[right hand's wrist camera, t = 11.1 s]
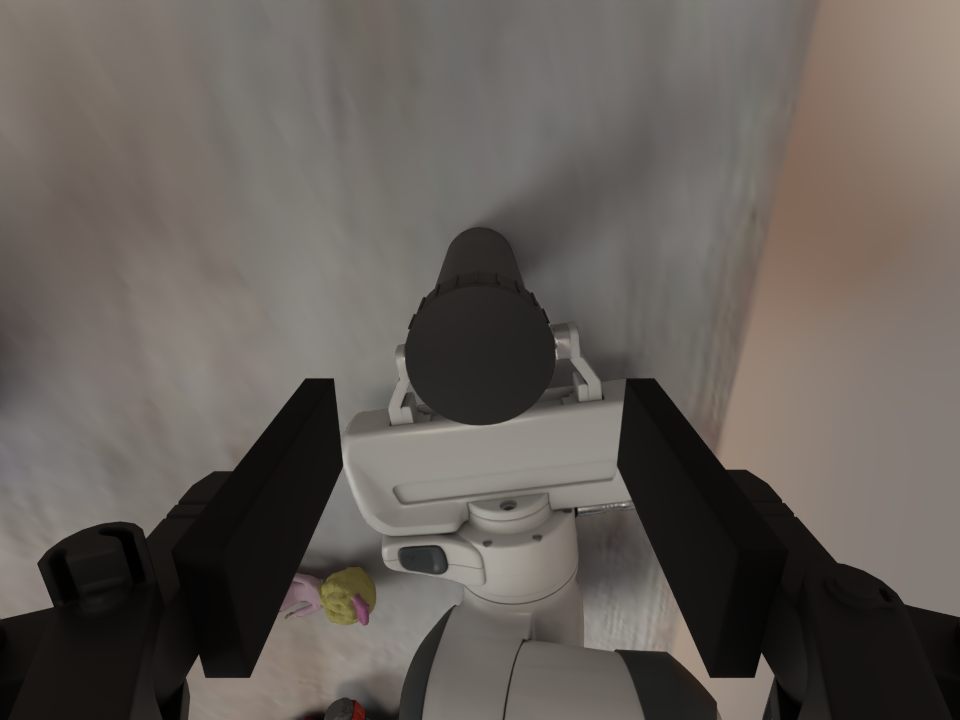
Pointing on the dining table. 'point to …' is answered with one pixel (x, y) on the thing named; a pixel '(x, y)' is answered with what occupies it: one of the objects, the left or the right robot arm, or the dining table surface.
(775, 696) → the right robot arm
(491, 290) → the lid
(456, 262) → the dark grey tall cylinder
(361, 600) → the figurine
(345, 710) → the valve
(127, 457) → the dining table surface
